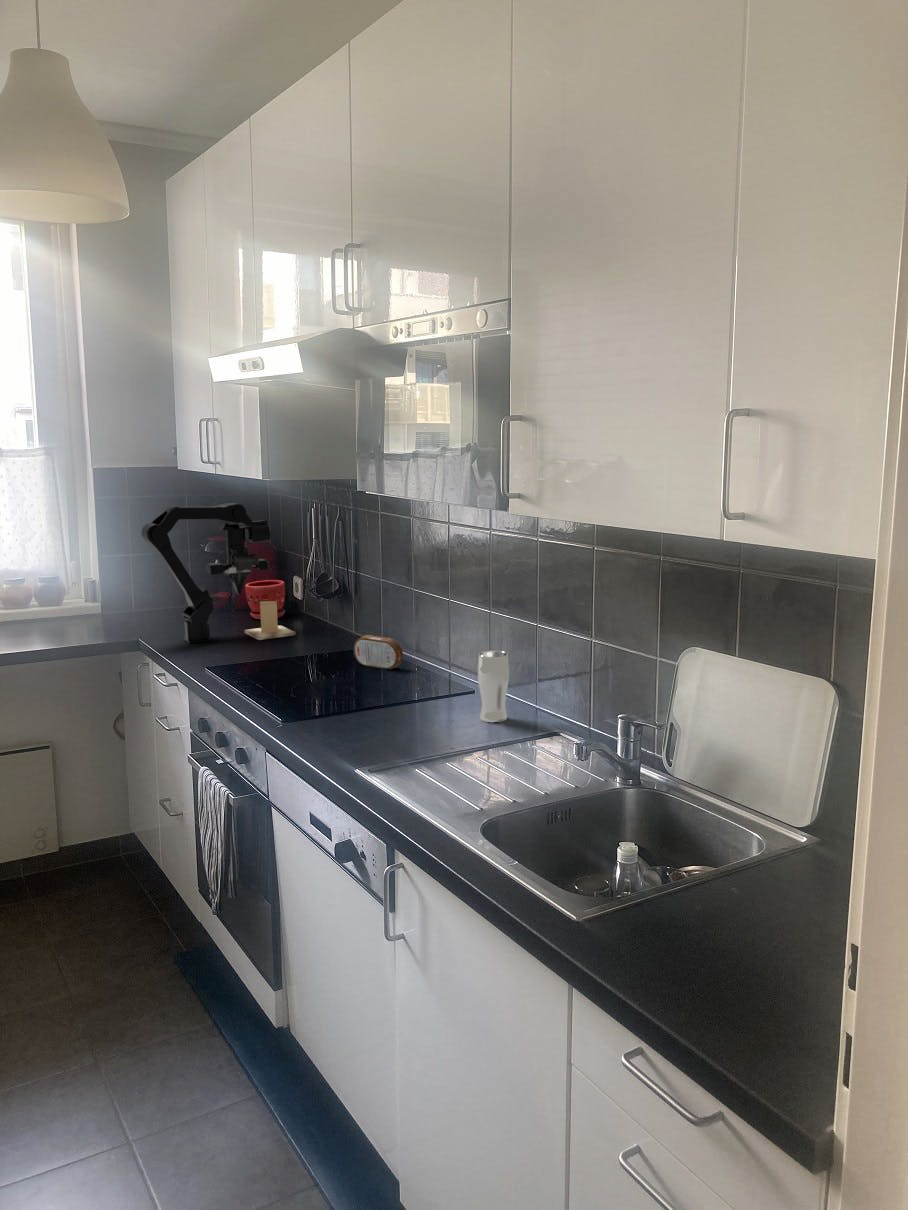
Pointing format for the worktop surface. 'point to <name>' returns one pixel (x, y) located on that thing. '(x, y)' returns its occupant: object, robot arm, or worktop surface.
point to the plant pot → (265, 595)
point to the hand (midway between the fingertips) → (238, 594)
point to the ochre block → (269, 617)
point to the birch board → (258, 635)
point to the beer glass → (493, 684)
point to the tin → (378, 652)
